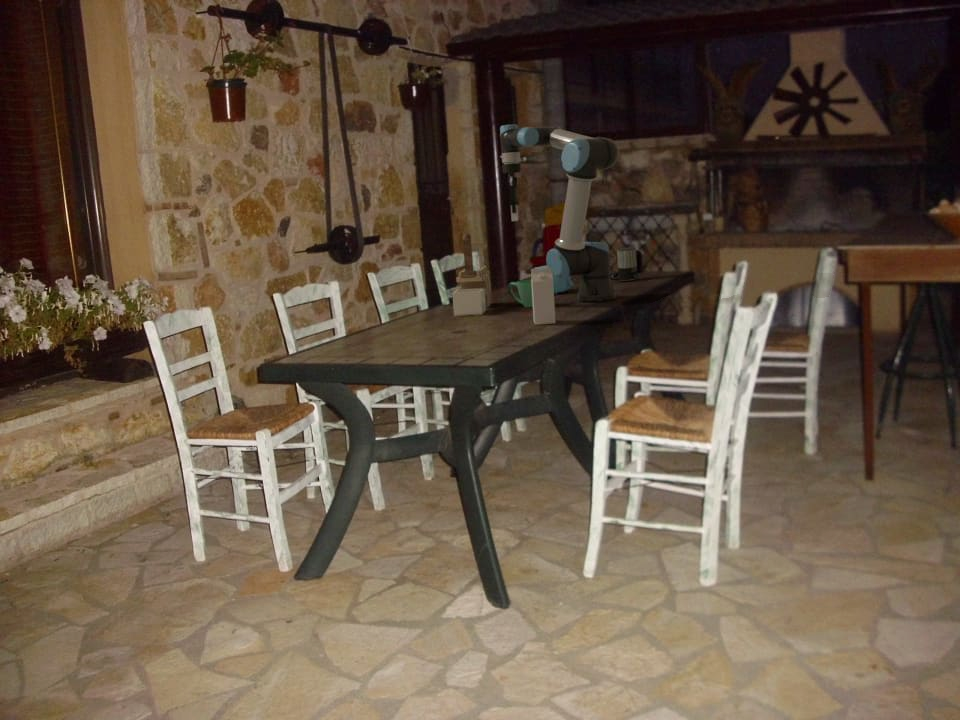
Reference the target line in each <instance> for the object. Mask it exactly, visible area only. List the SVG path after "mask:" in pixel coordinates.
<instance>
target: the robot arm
mask: <svg viewBox="0 0 960 720" xmlns="http://www.w3.org/2000/svg"><path fill="white" fill-rule="evenodd" d="M499 131H500V132H499V133H500V134H499V138H500V150H501V155H500V158H501V162H502V165H501V166H502V173H503V174H508V177H507V178H506V181H507V188H508V195H509V196H508V197H509V204H508V205H509V206H510V216H511V222H519V210H518V206H519V205H520V202H519V201H518V177H517V176H516V173H518V174H519V173H521V171H522V168H521V163H520V162H521V151H520V148H528V147H530V148H532V147H551V148H555V149H559V150H562V151H561V160H560V161H561V163H562V164H561V165H562V168H563V169H564V171H565V174H566V176H567V178H568V180H567V181H568V182H567V188H566V195H565V200H564V201H565V203H564V208H563V214H562V221H561V227H560V234H559V238H557V239H556V240H555V241H554V248H551V249H549V250H548V251H547V254H546V257H545V258H546V259H545V260H546V261H545V262H546V266H548V268H552V275H553V276H555V277H556V278H568V277H571V278H572V277H578V276H580V283H579V286H578V292H577V295H576V296H577V297H576V299H577V301H578V302H583V301H588V302H589V301H590V302H589V303H591V301H598V302H605V301H604V300H607V301H611V300H610V299H612V300H614V298H615V299H616V292H615V289H614V286H613V283H612V281H611V280H612V279H611V278H610V275H611V271H610V270H611V269H610V268H611V267H610V266H611V265H610V264H611V263H610V248H609V244H608V243H607V242H604V241H603V242H600V241H583V236H584V230H585V224H586V218H587V217H586V216H587V212H588V211H587V210H588V206H589V200H590V195H591V194H590V193H591V187H592V182H593V181H595V180H596V179H597V176H598V171H603V170H608V169H609V168H611V167H613V166H615V164H616V163H617V161H618V159H619V154H620V149H619V146H618V144H617V143H616V142H615V141H614V140H613V139H611V138H608V137H603V136H597V137H591V136H589V135H583V134H580V133H577V132H572V131H568V130H565V129H563V127H561V126H556V125H555V126H554V125H552V126H542V127H541V126H537V127H535V126H534V127H531V126H528V127H527V126H524V127H520V128H519V125H518V124H514V123H512V124H505V125H501V126H500V128H499Z"/></svg>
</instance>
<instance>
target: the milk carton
mask: <svg viewBox="0 0 960 720" xmlns="http://www.w3.org/2000/svg"><path fill="white" fill-rule="evenodd" d="M530 272H531V273H530V280H531V286H532V302H533V307H532V319H533V323H534V325H536V326H537V325H539V326H540V325H548V324H549V325H551V324H552V325H553V324H556V309H555V295H554V288H553V276H552V268H544V269H534V268H532V269H530Z"/></svg>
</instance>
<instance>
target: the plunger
mask: <svg viewBox="0 0 960 720" xmlns="http://www.w3.org/2000/svg"><path fill="white" fill-rule="evenodd" d="M462 244H463V245H462V247H463V259H464V261H463V262H464V269H465V271H463V272H462V278H464V277H476V272H477V270H474V263H473V248H472V236H471V234H469V233H464V235H462Z"/></svg>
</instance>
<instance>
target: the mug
mask: <svg viewBox="0 0 960 720" xmlns="http://www.w3.org/2000/svg"><path fill="white" fill-rule="evenodd" d="M507 286H508V287H507V288H508V293H509V295H510V296H511V298H513V300H515V302H517V303H519V304H521V305H522V306H523V307H524V308H533V302H532V286H531V279H523V280H522V279H521V280H518V281H516V282H515V281H511V282H510V283H509V284H508V285H507ZM513 286H515V287H517V291H518V296H519V297H518V296H517V294H516V293H515V292H514V290H513V289H514V288H513Z"/></svg>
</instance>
